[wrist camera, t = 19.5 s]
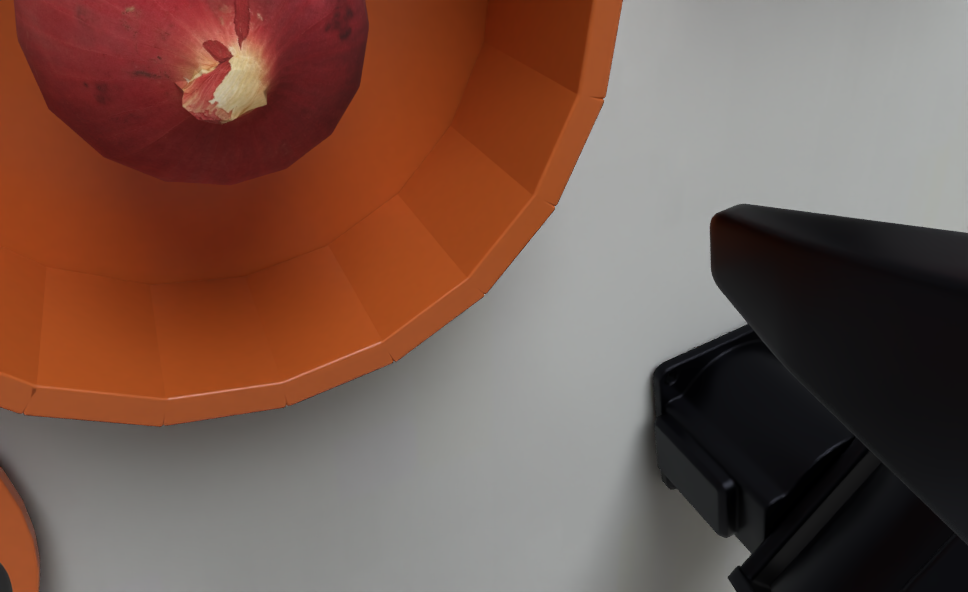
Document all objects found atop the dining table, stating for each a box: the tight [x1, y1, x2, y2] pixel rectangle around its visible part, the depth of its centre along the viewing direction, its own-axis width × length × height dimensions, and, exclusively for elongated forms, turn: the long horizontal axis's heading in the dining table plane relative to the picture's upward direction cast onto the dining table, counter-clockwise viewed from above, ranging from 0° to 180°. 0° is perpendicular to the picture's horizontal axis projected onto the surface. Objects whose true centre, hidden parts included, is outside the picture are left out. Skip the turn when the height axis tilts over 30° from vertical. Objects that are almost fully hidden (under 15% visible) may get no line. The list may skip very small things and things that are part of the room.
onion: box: [14, 0, 369, 185], centre depth 14 cm, size 6×6×8 cm
